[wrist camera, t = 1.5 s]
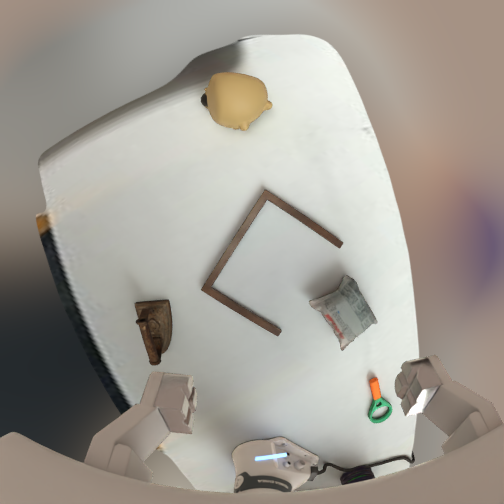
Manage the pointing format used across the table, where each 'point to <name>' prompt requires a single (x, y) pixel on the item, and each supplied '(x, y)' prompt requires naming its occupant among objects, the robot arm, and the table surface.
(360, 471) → the dark blue cylinder
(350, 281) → the packaged food
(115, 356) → the table surface
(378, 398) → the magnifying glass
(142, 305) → the clothes iron
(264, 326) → the bay
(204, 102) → the toy pig
